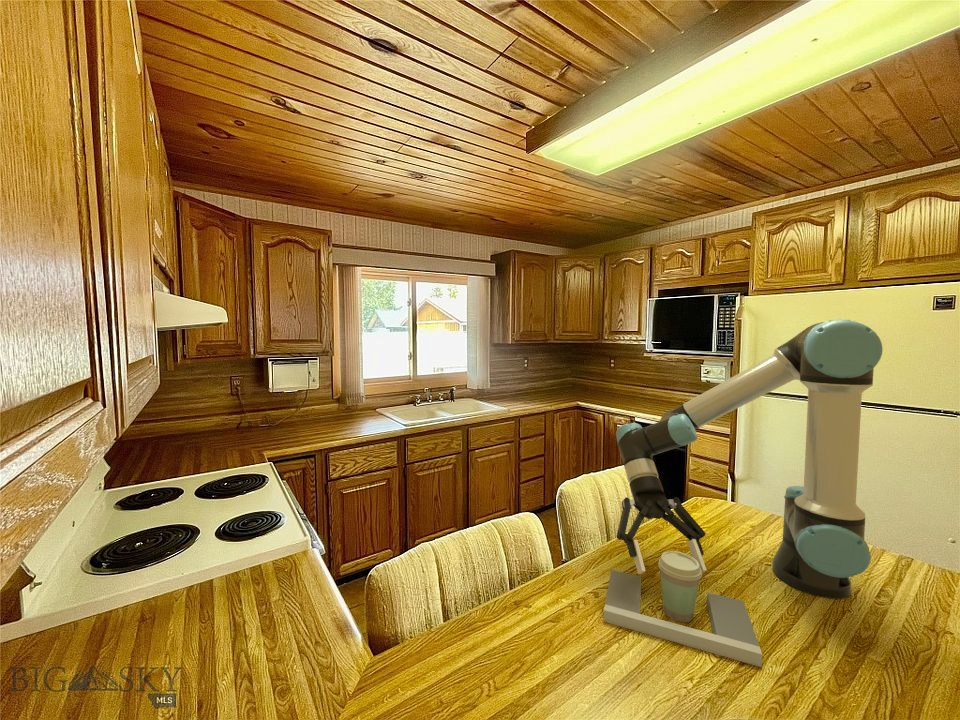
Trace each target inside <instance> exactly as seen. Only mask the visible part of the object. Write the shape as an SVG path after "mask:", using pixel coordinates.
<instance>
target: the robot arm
mask: <svg viewBox="0 0 960 720" xmlns="http://www.w3.org/2000/svg"><path fill="white" fill-rule="evenodd" d="M882 355H883V343H882V341H881V338H880V337H879V336H878V334H877V332H876V331H874V330H873V329H872V328H870V326H867V325H865V324H864V323H860V322H858V321H855V320H850V319H833V320H830V319H829V320H826V321H822V322H818V323H817V322H816V323H814V324H812V325H810V326H807V327H806V328H805V329H803V330H802V331H801V332H799V333H798V334H797V335H795V336H794V337H792V338H790V339H789V340H787V341H786V342H785V343H783V344H781V345H779V346H778V347H775V349H774V351H773V353H772V354H771V355H770V356H768V357H767V358H764V359H763V360H761V361H759V362H757V363H755V364H754V365H752V366H749V368H747V369H744V370H743V371H741V372H739V373H736V375H733V376H732V377H730V378H728V379H726V380H725V381H723V382H720V383H719V384H717V385H715V386H714V387H712V388H710V389H708V390H706V391H704V392H703V393H701V394H699V395H697V396H695V397H694V398H692V399H689V400H688V401H686V402H685V403H683V404H681V405H679V406H677V407H675V408H673V409H669V410H668V411H666V412H664V413H663V415H662V416H661V417H660V419H659V421H658V422H655V423H653V424H650V425H648V426H644V427H642V425H641V424H639V423H636V422H630V423H625V424H622V425H620V426H618V428H617V430H616V432H615V436H616V442H617V447H618V450H619V453H620V457H621V459H622V463H623V468H624V470H625V474H626V477H627V481H628V482H629V489H630V492H631V496H632V498H633V499H630V498H629V497H627V496H626V497H624V498H623V500H622V501H621V508H622V511H621V515H620V520H619V524H618V529H617V534H616V539H617V540H619V541H623V543H625V544H626V546H627V547H626V548H627V552H628V555H629V556H630V558H633V560H634V563H635V564H634V565H635V567H636V571H637V575H642V574H644V573H646V567H645V564H644V560H643V556H642V553H641V549H640V546H639V542H638V539H634V538H635V535H636V534H637V532H638V530H639V529H640V526H641V524H642V523H643V520H644V518H646V519H647V520H651V519H657V520H658V519H659V520H660V519H663V520H664V521H665V522H668V523H669V524H670V525H671V526H673V527H674V528H675V529H676V530H677V531H678V532H679V533H681V534H682V535H683V536H684V537H685V538H686V539H688V541H687V546H688V548H689V552H690V554H691V555H690V556H691V557H693V558H694V559H696V560H697V561H698V563H699V566H700V568H701V571H702V574H703V573H704V572H707V567H706V564H705V562H704V559H703V556H704V553H705V552H704V549H703V546H702V544H701V541H700V540H701V539H702V538H704V537H705V536H707V534H706V532H705V531H704V530H703V528H702V527H701V526H700V525H699V524H698V522H697V521H696V520H695V519H694V517H692V515H691V514H690V513H689V512H688V511H687V510H686V508H685V507H684V506H683V504H682V502H681V499H680V498H679V497H677V496H675V497H673V498H672V499H671V498H669V499H668V498H667V497H666V496H665V492H664V491H665V490H664V488H663V485H662V483H661V482H662V481H661V479H660V478H659V473H658V469H657V467H656V464H655V461H654V458H653V456H656V455H658V454H661V453H664V452H668V451H671V450H674V449H678V448H680V447H685V446H687V445H689V444H691V443H693V442H696V441H697V440H698V434H697V430H698V429H699V428H700V427H703V426H705V425H707V424H709V423H711V422H713V421H715V420H717V419H719V418H721V417H723V416H725V415H727V414H728V413H731V412H732V411H734V410H737V409H738V408H741V407H743V406H745V405H747V404H749V403H750V402H753V401H755V400H756V399H758V398H761V397H762V396H764V395H767V394H769V393H770V392H772V391H774V390H777V389H778V388H781V387H783V386H784V385H786V384H788V383H790V382H792V381H795V380H796V381H799V382H800V383H801V384H802V385H803V386H805V387H806V388H807V412H806V430H805V431H806V433H805V434H806V435H805V455H804V457H805V458H804V472H803V474H804V478H803V486H802V485H791V486H788V487H786V489H785V494H784V497H783V498H784V511H783V512H784V514H783V524H782V525H783V527H782V541H781V543H780V545H779V547H778V549H777V551H776V552H775V555H774V556H773V557H772V567H771V568H772V569H771V570H772V572H773V573H774V574H775V576H776V577H778V579H780V580H781V581H783V582H784V583H786V584H787V585H790V586H791V587H793V588H795V589H797V590H800V591H802V592H805V593H807V594H810V595H813V596H817V597H822V598H827V599H836V600H838V599H847V598H848V597H850V595H851V593H852V583H851V579H850V578H852V577H855V576H857V575H861V574H862V573H864V572H865V571H866V570H867V569H868V568H869V566H870V564H871V558H872V557H871V551H870V547H869V545H868V543H867V541H866V540H865V529H866V513H865V512H864V510H862V509H861V508H860V507H859V506H858V505H857V491H858V489H857V487H858V471H859V454H860V453H859V452H860V451H859V450H860V435H861V433H860V431H861V417H862V415H861V413H862V399H863V397H862V396H863V395H862V394H863V393H864V392H865V391H866V390H868V389H869V388H871V387H873V385H874V384H873V383H874V380H873V379H874V372H875V371H874V370H875V368H876V366H877V365H878V363H879V362H880V360H881V358H882ZM633 507H635V509H636V510H637V511H638V512H637V513H638V514H637V515H636V517H635V519H634V521H633V523H632V524H631V526H630V528H629V529H628V532H627V533H626V531H627V527H628V522H629V518H630V513H631V509H632V508H633ZM669 507H670V508H669ZM671 509H672V510H671Z"/></svg>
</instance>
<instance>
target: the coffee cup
mask: <svg viewBox="0 0 960 720" xmlns="http://www.w3.org/2000/svg"><path fill="white" fill-rule="evenodd" d="M657 565H658V568H659V572H660V573H659V574H660V584H661V587H660V588H661V596H662V607H663V612H664V613H665V615H667V617H669V618H670V619H672V620H674V621H676V622H679V623H689V622H691V621H693V618H694V615H695V609H696V603H697V597H698V591H699V585H700V579H702V576H703V573H702V571H701V568H700V566H699V563H698V561H697V560H696V559H694V558H693V557H692V555H689V554H686V553H684V552H681V551H673V550H672V551H664V552H663V553H662V554H661V556H660V558H659V560H658V564H657Z"/></svg>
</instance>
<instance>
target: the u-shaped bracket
mask: <svg viewBox="0 0 960 720" xmlns="http://www.w3.org/2000/svg"><path fill="white" fill-rule="evenodd" d="M641 589H642V576H640V575H638V574H637V575H636V574H632V573H628V572H623V571H619V570H615V569H610V573H609V579H608V586H607V591H606V597H605V602H604V608H603V622H604V623H609V624H610V625H615V626H618V627H622V628H626V629H629V630H631V631H635V632H638V633H643V634H645V635H649V636H653V637H656V638H658V639H663V640H666V641H670V642H673V643H677V644H680V645H684V646H687V647H691V648H694V649H698V650H701V651H705V652H707V653H711V654H715V655H718V656H721V657H724V658H728V659H730V660H735V661H737V662H738V661H739V662H742V663H745V664H749V665H753V666H755V667H758V668H759V667H760V668H762V667H763V666H762V665H763V652H762V650H761V646H760V644H759V642H758V638H757V635H756V632H755V629H754V627H753V625H752V622H751V618H750V615H749V612H748V610H747V607H746V605H745V601H744V600H741V599H736V598H732V597H728V596H725V595H720V594H716V593H712V592H707V593H706V594H707V596H706V606H707V611H708V615H709V619H710V620H709V621H710V624H711V629H712V633H711V632H707V631H703V630H700V629H698V628H697V629H696V628H693V627H689V626H685V625H682V624H679V623H674V622H670V621H667V620H664V619H660V618H656V617H652V616H649V615H646V614H641V594H642V590H641Z"/></svg>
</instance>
